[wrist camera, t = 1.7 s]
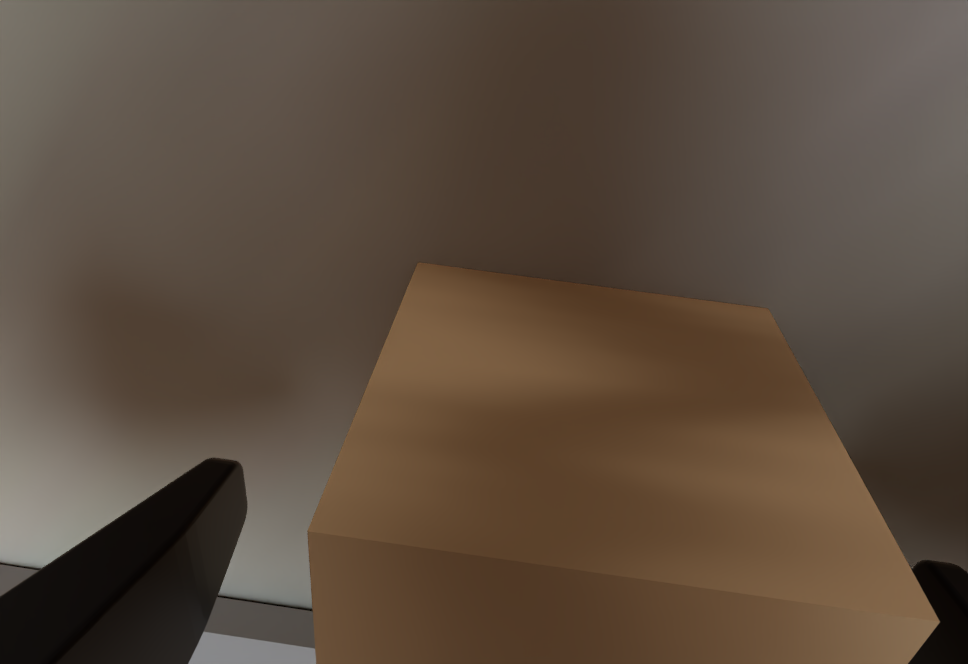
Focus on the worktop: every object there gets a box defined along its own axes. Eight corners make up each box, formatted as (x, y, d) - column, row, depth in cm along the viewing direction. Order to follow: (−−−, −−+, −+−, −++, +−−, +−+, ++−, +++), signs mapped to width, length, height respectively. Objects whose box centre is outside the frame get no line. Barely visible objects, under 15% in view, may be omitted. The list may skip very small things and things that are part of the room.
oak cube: (767, 305, 9) (939, 621, 5) (677, 542, 12) (742, 877, 8) (418, 259, 9) (307, 531, 5) (406, 503, 12) (326, 813, 8)
